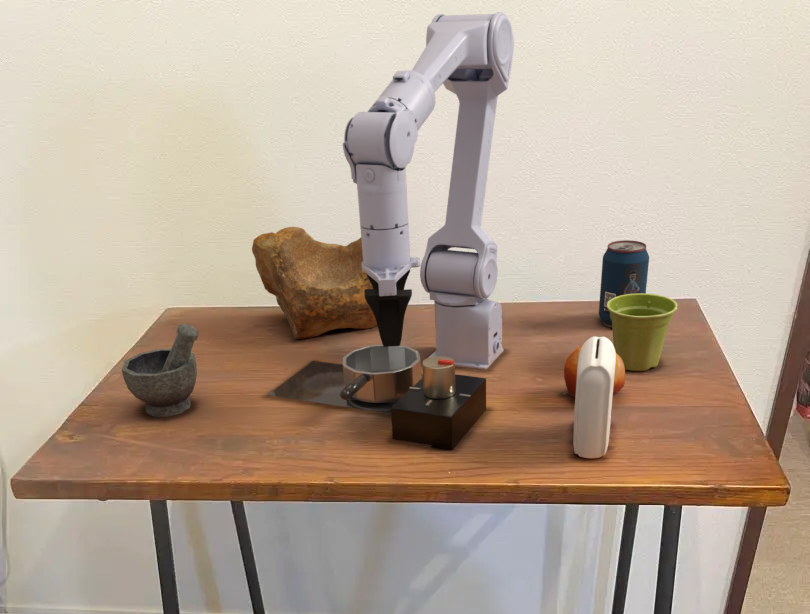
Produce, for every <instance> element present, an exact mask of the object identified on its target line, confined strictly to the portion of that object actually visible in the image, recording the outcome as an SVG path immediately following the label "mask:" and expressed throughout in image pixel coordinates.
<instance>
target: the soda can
mask: <svg viewBox="0 0 810 614" xmlns="http://www.w3.org/2000/svg"><path fill="white" fill-rule="evenodd" d="M649 263H650V255H649V253H648V249H647V244H646V243H644V242H642V241H638V240H625V239H624V240H615V241H611V242H609V243H608V244H607V247H606V250H605V252H604V254H603V255H602V262H601V274H600V275H601V276H600V277H601V278H600V290H599V303H598V304H599V305H598V316H599V318H600V320H601V322H602V324H603V325H604V326H606V327H609V328H612V320H611V318H610V311H609V310H608V309H607V303H608V301H609V300H611V299H613V298H615V297H617V296H621V295H626V294H639V293H640V294H641V293H644V294H647V285H648V274H649Z"/></svg>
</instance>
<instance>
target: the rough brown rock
mask: <svg viewBox="0 0 810 614" xmlns="http://www.w3.org/2000/svg"><path fill="white" fill-rule="evenodd" d="M251 252H252V254H253V257H254V260H255V267H256V271H257V273H258V275H259V277H260V280H261V282H262V285H263V288H264V290H266V291H267V292H268V294H271V295H272V296H274V297H275V299H276V302H277V305H278V306H279V307H280V309H281V311H282V313H283V314H284V317H286V318H287V322H288V324H289V327H290V330H291V333H292V335H293V338H294V339H295V340H304V339H308V338H315V337H318V336H320V335H322V334H324V333H327V332H329V331H332V330H337V329H349V328H350V329H362V330H363V329H364V330H365V329H373V328H378V326H377V322H376V319H375V316H374V314H373V312H372V310H371V308H370V306H369V305H368V303H367V301H366V299H365V297H364V290H365V289H373V286H372V284H371V282H370V280H369V278H368V277H367V275H366V273H365V272H364V271H363V270H362V262H363V253H362V241H361V237H359V238H357V239H356V240H353V241H351V242H349V243H348V244H346V245H342V244H337V243H328V242H327V243H326V242H322V241H319V240H316V239H314V238H313V237H312V236H311V235H310V234H309V233H308V232H306V230H305V229H304V228H302V227H299V226H287V227H283V228H281V229H279V230H277V231H276V232H273V231H272V232H266V233H262V234H259V235H258V236H257V237H255V238H254V239H253V240H252V246H251Z"/></svg>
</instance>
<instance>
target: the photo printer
mask: <svg viewBox="0 0 810 614" xmlns="http://www.w3.org/2000/svg"><path fill="white" fill-rule="evenodd" d="M582 345H583V346H582V348H581V350H580V353H579V358H578V366H577V381H576V396H575V397H574V398H575V399H574V414H573V436H572V437H573V438H572V439H573V441H572V444H573V445H572V447H573V451H574V454H575V455H577V456H578V457H580V458H585V459H600V458H601V457H602V456H605V455H606V454H607V451H608V448H609V443H610V442H609V441H610V435H611V434H610V433H611V423H612V422H611V421H612V408H613V397H614V396H613V386H614V375H615V364H616V352H615V348H614V345H613V341H611V340H610V339H609V338H608V337H607V336H604V335H603V336H595V335H593V336H590V337H589V338H587V340H585V341H584V343H583V344H582Z"/></svg>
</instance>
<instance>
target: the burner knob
mask: <svg viewBox="0 0 810 614" xmlns="http://www.w3.org/2000/svg"><path fill="white" fill-rule="evenodd" d="M428 357H429V356H428ZM428 357H427V358H425V359H423V360H422V361H421V369H422V375H423V390H424V395H425V396H427V397H429V398H434V399H443V398H448V397H451V396H453V395H454V394H455V392H456V388H455V374H456V366H455V361H454V359H452V358H450V357H446V356H434V357H429V358H428Z"/></svg>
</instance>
